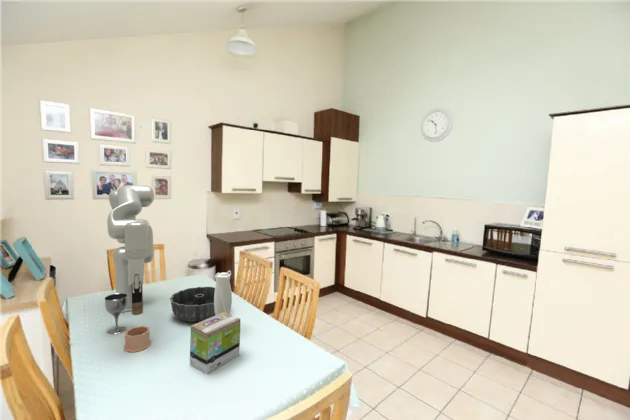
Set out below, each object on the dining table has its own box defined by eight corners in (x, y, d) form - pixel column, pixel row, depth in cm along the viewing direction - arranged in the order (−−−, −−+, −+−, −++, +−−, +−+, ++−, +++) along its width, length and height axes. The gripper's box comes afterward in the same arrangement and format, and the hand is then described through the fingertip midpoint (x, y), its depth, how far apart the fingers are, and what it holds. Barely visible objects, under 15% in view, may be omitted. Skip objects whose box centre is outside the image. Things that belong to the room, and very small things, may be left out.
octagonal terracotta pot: (124, 343, 117) (124, 328, 116) (150, 337, 121) (150, 323, 121) (123, 354, 109) (122, 339, 108) (151, 348, 114) (151, 333, 113)
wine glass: (116, 335, 122) (115, 301, 121) (100, 333, 123) (99, 298, 122) (132, 327, 130) (131, 294, 128) (116, 324, 131) (116, 292, 130)
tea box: (207, 375, 99) (207, 333, 98) (189, 365, 104) (189, 325, 103) (240, 354, 112) (241, 317, 111) (222, 346, 117) (223, 310, 116)
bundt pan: (212, 300, 163) (213, 282, 162) (237, 315, 145) (237, 296, 144) (162, 313, 145) (161, 293, 144) (182, 333, 126) (182, 310, 125)
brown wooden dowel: (132, 312, 114) (131, 277, 113) (142, 310, 116) (142, 276, 115) (131, 315, 111) (131, 279, 110) (142, 314, 113) (142, 278, 112)
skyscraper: (235, 332, 128) (236, 270, 126) (219, 338, 123) (220, 273, 120) (225, 326, 133) (226, 266, 131) (210, 331, 128) (211, 269, 126)
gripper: (126, 250, 117) (126, 295, 119) (123, 259, 103) (124, 310, 104) (147, 249, 121) (148, 292, 122) (148, 257, 107) (148, 306, 108)
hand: (137, 300), depth 113 cm, fingers closed on brown wooden dowel, 3 cm apart
